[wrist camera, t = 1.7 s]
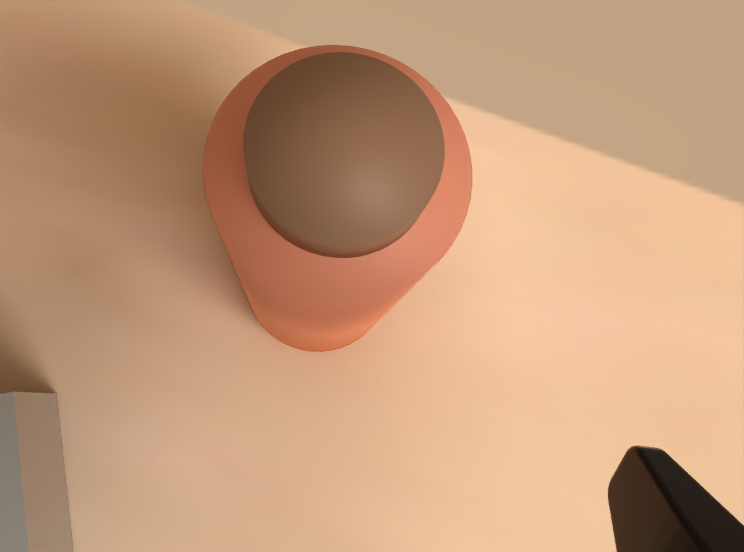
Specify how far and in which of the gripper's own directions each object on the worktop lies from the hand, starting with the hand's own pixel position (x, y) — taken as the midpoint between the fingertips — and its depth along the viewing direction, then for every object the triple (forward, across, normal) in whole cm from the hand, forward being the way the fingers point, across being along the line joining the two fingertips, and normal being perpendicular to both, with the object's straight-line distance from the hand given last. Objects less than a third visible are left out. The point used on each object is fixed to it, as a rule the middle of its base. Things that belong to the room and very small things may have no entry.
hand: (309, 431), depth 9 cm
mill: (+11, 0, +5) cm, 12 cm away
